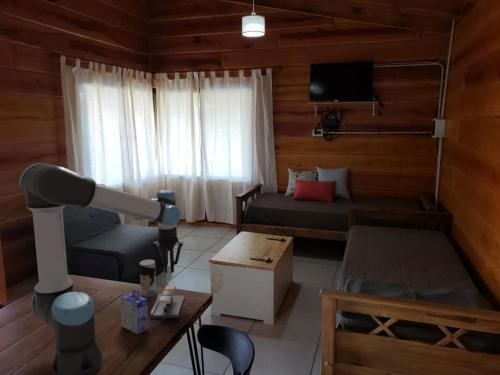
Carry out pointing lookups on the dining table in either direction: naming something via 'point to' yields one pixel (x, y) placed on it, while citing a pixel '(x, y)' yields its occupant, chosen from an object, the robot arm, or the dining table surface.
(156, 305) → the keypad board
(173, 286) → the key terracotta
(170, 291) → the key grey
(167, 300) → the key cream
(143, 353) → the dining table surface
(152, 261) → the printed cylindrical canister
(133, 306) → the ink cartridge box
